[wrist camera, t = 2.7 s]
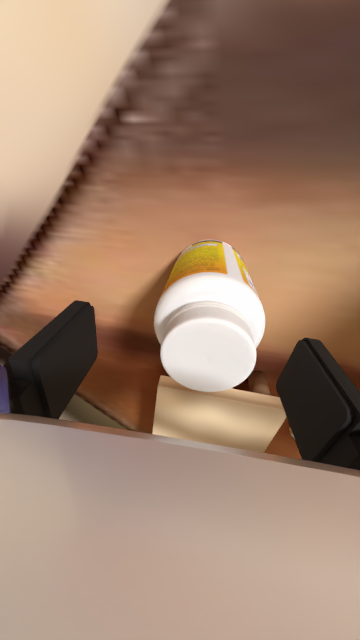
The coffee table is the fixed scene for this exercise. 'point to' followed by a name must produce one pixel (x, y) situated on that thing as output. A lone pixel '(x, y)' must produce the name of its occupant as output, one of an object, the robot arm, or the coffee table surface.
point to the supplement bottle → (209, 318)
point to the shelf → (219, 414)
